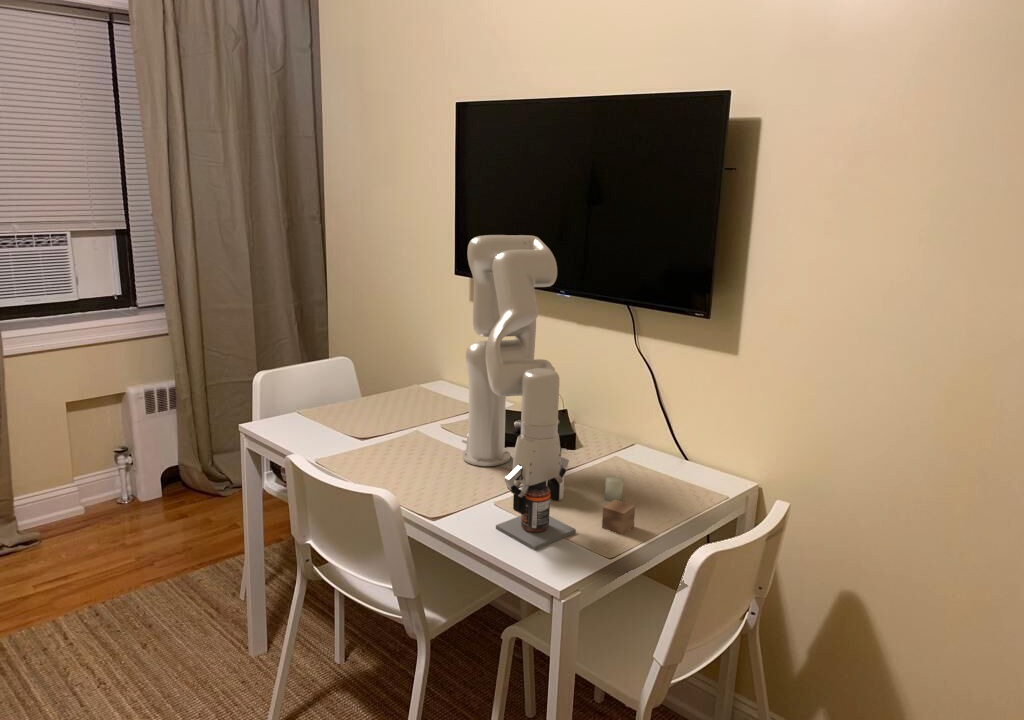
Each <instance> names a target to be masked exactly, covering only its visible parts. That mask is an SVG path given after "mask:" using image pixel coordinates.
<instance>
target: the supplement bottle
mask: <svg viewBox="0 0 1024 720" xmlns="http://www.w3.org/2000/svg"><path fill="white" fill-rule="evenodd" d="M546 484H547V483H546V481H543V482H541V483H538V484H535V485H532V486H529V487H528V489H527V490H526V492H525V494H524V496H526V513H525V514H523V515H522V514H520V516H521V526H522V528H523V529H525V530H526V531H529V532H543V531H545V530H546V529H547V528H548V527H549V516H550V512H551V511H550V510H551V500H550V489H549V487H548V486H546Z"/></svg>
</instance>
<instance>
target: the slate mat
mask: <svg viewBox="0 0 1024 720" xmlns="http://www.w3.org/2000/svg"><path fill="white" fill-rule="evenodd" d="M495 529H496V530H498V531H499V532H501V533H503V534H504V535H506V536H508V537H509V538H512V539H514V540H515V541H517V542H519V543H520V544H523V545H524V546H526V547H527V548H529V549H531V550H533V551H536V550H538V549H540V548H543V547H546V546H547V545H550V544H552V543H555V542H556V541H559V540H562V539H564V538H566V537H569V536H571V535H574V534H576V531H577V530H576V528H574V527H572V526H570V525H568V524H566V523H564V522H563V521H561V520H558V519H557V518H554V517H552V516H550V515H549V527H548V528H547V529H546V530H545V531H543V532H529V531H526V530H525V529H523V528H522V526H521V515H519V516H516V517H512V518H511V519H508V520H506V521H503V522H501V523H498V524H495ZM573 533H574V534H573Z"/></svg>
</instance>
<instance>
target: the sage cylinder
mask: <svg viewBox="0 0 1024 720" xmlns="http://www.w3.org/2000/svg"><path fill="white" fill-rule="evenodd" d="M623 485H624V479H623V478H622V477H620V476H616V475H609V476H606V477H605V485H604V501H606V502H607V503H610V502H612V501H613V500H615V499H616V500H619V501H622V502H623V491H624V490H623V488H624V486H623Z"/></svg>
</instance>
